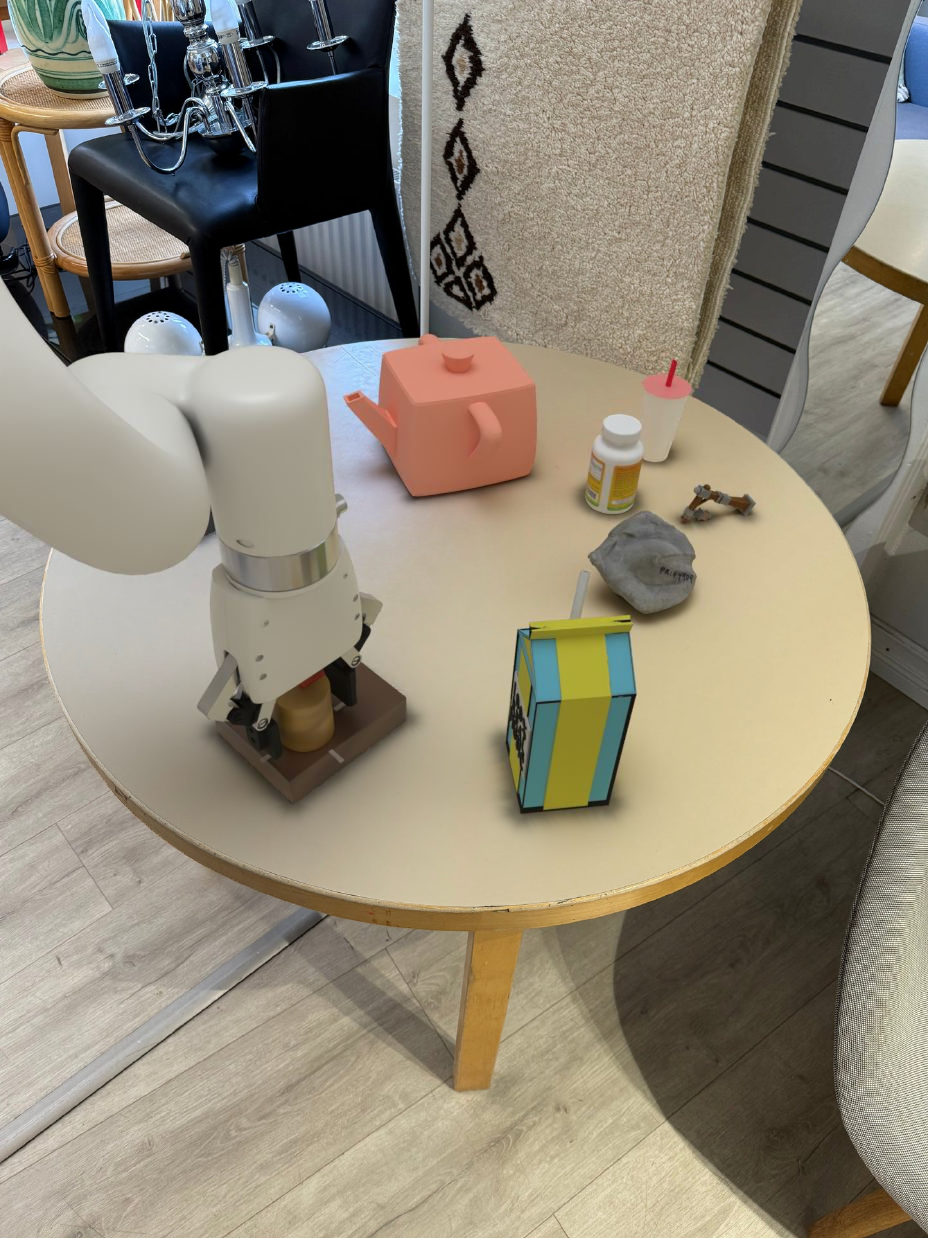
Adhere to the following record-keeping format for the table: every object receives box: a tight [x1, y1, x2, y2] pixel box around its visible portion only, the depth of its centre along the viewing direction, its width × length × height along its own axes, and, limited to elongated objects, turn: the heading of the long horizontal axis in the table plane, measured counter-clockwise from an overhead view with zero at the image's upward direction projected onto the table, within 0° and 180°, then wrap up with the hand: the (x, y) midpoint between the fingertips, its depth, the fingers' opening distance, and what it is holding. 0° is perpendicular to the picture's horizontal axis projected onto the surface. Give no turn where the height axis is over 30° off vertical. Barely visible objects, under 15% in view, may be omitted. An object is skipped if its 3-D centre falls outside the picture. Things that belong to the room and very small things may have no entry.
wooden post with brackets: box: [680, 483, 757, 522], centre depth 96 cm, size 2×8×4 cm, turn 108°
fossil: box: [587, 510, 698, 615], centre depth 86 cm, size 11×9×8 cm
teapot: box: [343, 333, 538, 497], centre depth 98 cm, size 20×22×14 cm
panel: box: [214, 661, 408, 805], centre depth 74 cm, size 12×11×3 cm
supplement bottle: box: [584, 413, 644, 515], centre depth 96 cm, size 5×5×10 cm
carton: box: [505, 570, 638, 815], centre depth 66 cm, size 7×8×18 cm
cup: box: [639, 358, 692, 463], centre depth 102 cm, size 5×5×12 cm
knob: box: [274, 670, 334, 752], centre depth 69 cm, size 4×4×5 cm
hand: (304, 719), depth 70 cm, fingers open, 6 cm apart
